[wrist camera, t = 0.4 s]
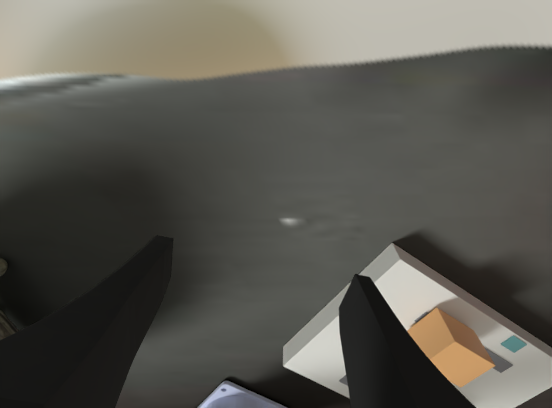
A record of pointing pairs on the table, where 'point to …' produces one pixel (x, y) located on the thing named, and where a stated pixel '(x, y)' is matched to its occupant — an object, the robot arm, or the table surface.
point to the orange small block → (451, 347)
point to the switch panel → (411, 309)
